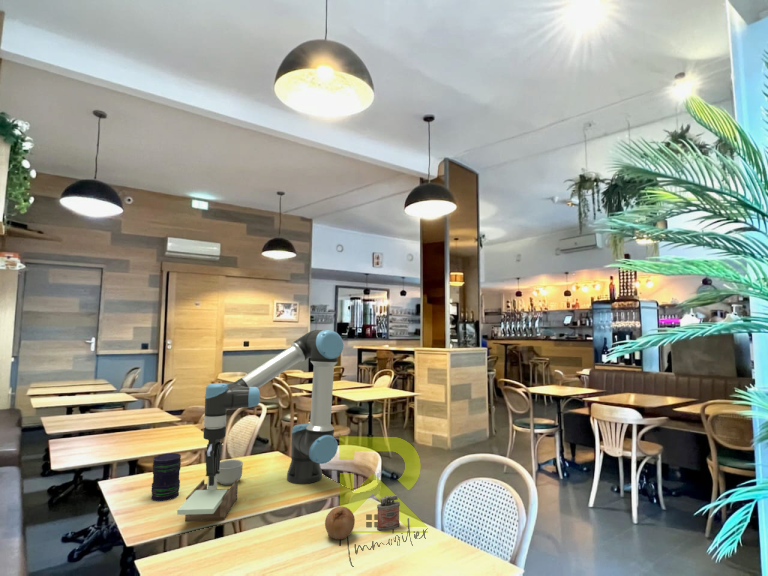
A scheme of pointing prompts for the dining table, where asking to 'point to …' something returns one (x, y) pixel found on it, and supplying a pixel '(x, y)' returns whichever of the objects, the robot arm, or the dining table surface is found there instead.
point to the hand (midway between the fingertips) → (212, 493)
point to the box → (222, 508)
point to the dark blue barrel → (166, 477)
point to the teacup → (229, 471)
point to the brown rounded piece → (339, 522)
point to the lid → (202, 502)
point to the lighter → (388, 513)
